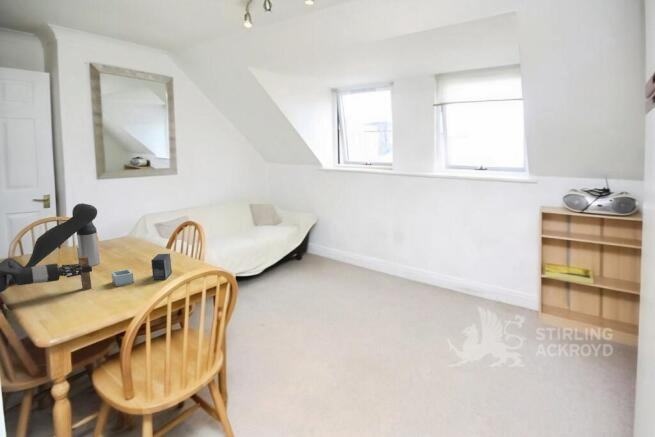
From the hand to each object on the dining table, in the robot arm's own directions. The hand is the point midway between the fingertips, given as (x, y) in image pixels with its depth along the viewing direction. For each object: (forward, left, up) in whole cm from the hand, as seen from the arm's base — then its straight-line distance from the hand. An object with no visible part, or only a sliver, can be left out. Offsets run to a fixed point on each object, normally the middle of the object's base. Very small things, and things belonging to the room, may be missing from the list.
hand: (90, 267), depth 183 cm
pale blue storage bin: (+9, +9, -10) cm, 16 cm away
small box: (+22, +21, -10) cm, 32 cm away
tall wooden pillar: (-2, -1, -10) cm, 10 cm away
